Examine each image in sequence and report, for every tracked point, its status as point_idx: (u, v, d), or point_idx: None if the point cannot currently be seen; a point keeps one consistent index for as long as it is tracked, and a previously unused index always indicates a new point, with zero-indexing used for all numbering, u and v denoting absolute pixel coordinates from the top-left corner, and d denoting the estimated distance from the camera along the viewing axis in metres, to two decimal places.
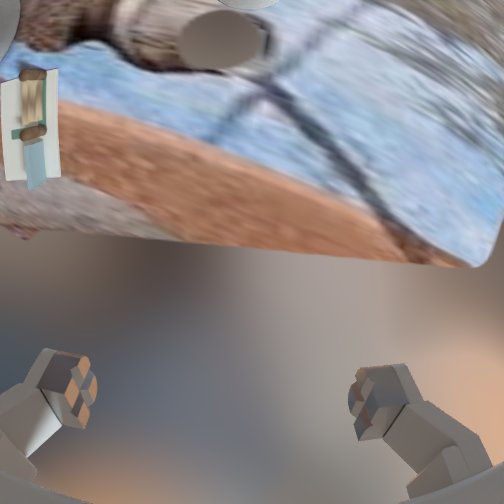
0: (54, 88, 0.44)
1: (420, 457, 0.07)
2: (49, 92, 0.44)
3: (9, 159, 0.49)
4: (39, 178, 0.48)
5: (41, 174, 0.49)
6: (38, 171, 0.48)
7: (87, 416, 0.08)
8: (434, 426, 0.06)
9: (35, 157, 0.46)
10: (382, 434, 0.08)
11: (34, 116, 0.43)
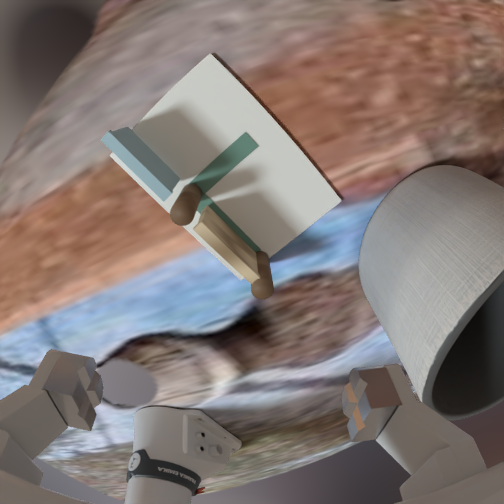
0: (221, 257, 0.37)
1: (413, 459, 0.07)
2: None
3: (227, 95, 0.29)
4: None
5: None
6: None
7: (93, 417, 0.08)
8: (427, 428, 0.06)
9: None
10: (375, 435, 0.08)
11: None
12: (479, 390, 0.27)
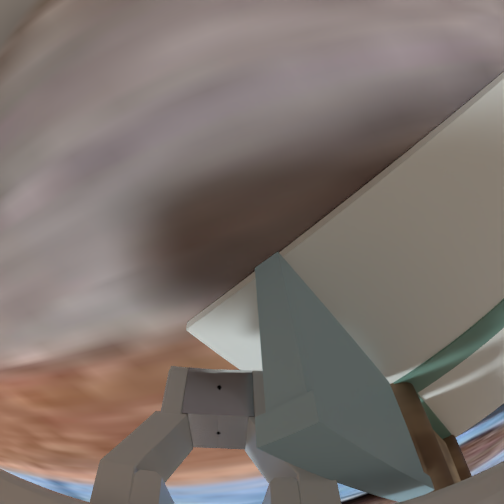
0: None
1: None
2: None
3: None
4: None
5: None
6: None
7: None
8: None
9: None
10: (242, 445, 0.07)
11: None
12: None
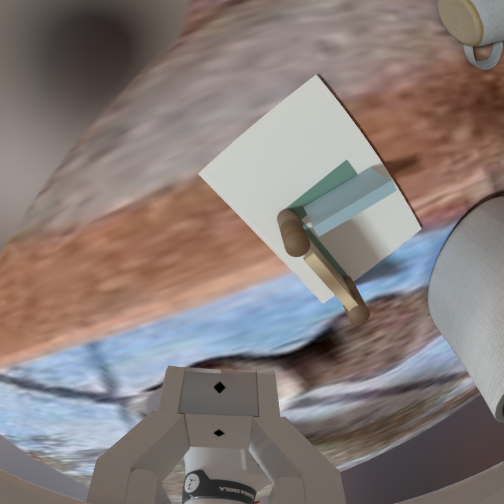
0: (308, 281, 0.37)
1: None
2: (314, 272, 0.36)
3: (331, 121, 0.28)
4: (369, 179, 0.28)
5: (361, 180, 0.29)
6: (357, 187, 0.28)
7: None
8: (279, 448, 0.06)
9: (333, 203, 0.29)
10: (246, 445, 0.07)
11: None
12: None
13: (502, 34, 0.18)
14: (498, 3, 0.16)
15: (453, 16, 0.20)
